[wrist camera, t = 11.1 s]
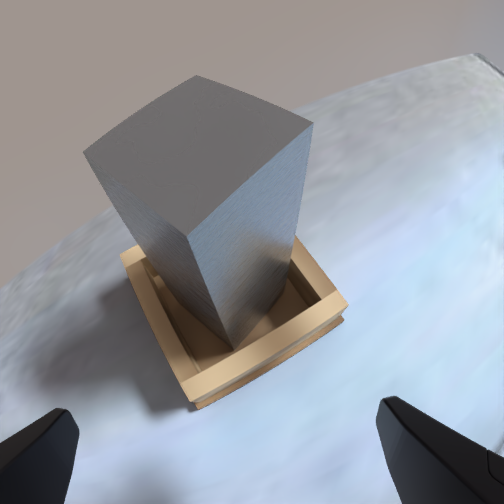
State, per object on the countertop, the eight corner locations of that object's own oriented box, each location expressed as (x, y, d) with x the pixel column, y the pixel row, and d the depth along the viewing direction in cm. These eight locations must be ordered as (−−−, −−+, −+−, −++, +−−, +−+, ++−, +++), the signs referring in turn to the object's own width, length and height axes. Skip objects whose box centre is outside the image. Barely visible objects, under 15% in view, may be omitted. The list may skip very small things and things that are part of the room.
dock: (199, 409, 15) (187, 410, 13) (132, 275, 19) (113, 253, 17) (341, 322, 17) (356, 306, 15) (256, 209, 21) (256, 179, 19)
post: (234, 350, 16) (186, 236, 6) (178, 302, 18) (82, 151, 7) (283, 293, 18) (313, 122, 7) (227, 251, 19) (196, 75, 9)
